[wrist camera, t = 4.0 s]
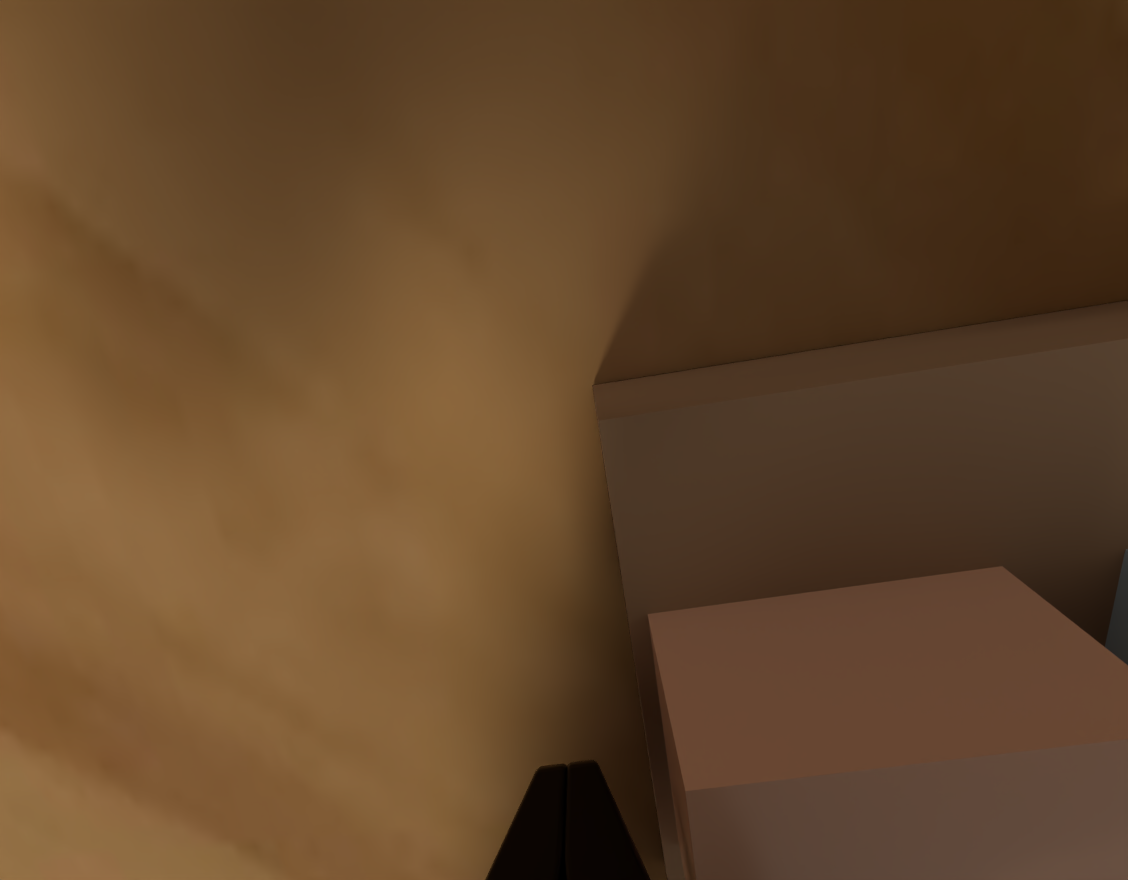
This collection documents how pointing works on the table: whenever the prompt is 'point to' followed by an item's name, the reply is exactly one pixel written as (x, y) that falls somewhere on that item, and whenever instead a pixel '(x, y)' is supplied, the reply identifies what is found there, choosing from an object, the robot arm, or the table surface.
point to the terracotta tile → (894, 735)
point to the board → (872, 476)
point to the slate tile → (1120, 617)
